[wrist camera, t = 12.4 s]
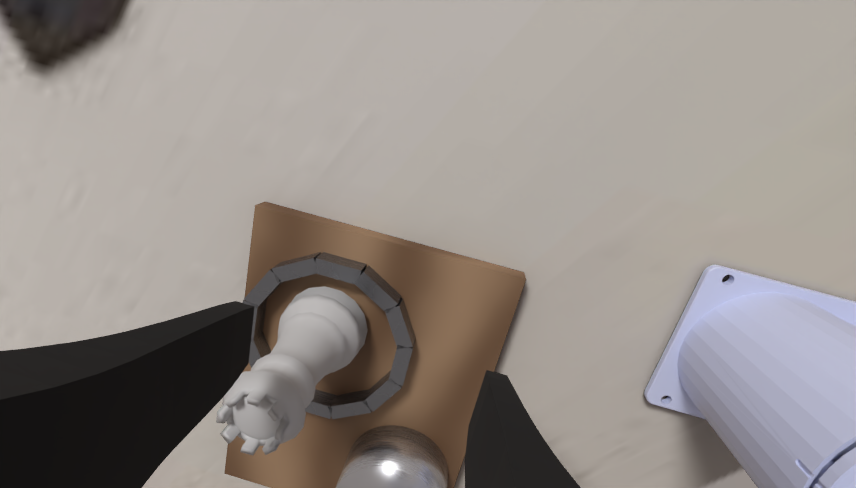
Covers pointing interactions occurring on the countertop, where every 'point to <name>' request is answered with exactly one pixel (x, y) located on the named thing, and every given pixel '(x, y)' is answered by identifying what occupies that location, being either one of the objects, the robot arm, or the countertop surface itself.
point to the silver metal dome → (394, 460)
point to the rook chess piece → (293, 369)
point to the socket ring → (375, 290)
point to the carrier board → (383, 342)
